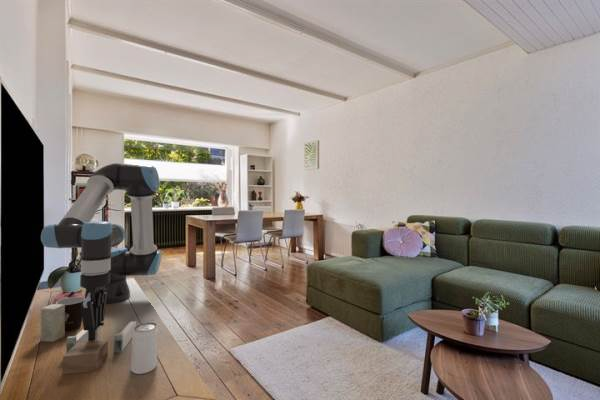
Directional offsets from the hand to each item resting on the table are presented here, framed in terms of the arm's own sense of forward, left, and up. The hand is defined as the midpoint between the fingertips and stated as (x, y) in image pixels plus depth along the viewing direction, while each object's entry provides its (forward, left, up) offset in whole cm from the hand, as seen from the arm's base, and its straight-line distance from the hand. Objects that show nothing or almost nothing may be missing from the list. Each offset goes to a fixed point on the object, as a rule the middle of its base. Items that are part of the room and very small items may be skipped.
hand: (93, 349), depth 89 cm
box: (-14, -18, -2) cm, 23 cm away
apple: (-34, -23, -2) cm, 41 cm away
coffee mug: (-23, -18, -2) cm, 29 cm away
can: (+9, +17, -2) cm, 20 cm away
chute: (-8, 0, -2) cm, 8 cm away
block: (+5, 0, -2) cm, 5 cm away
